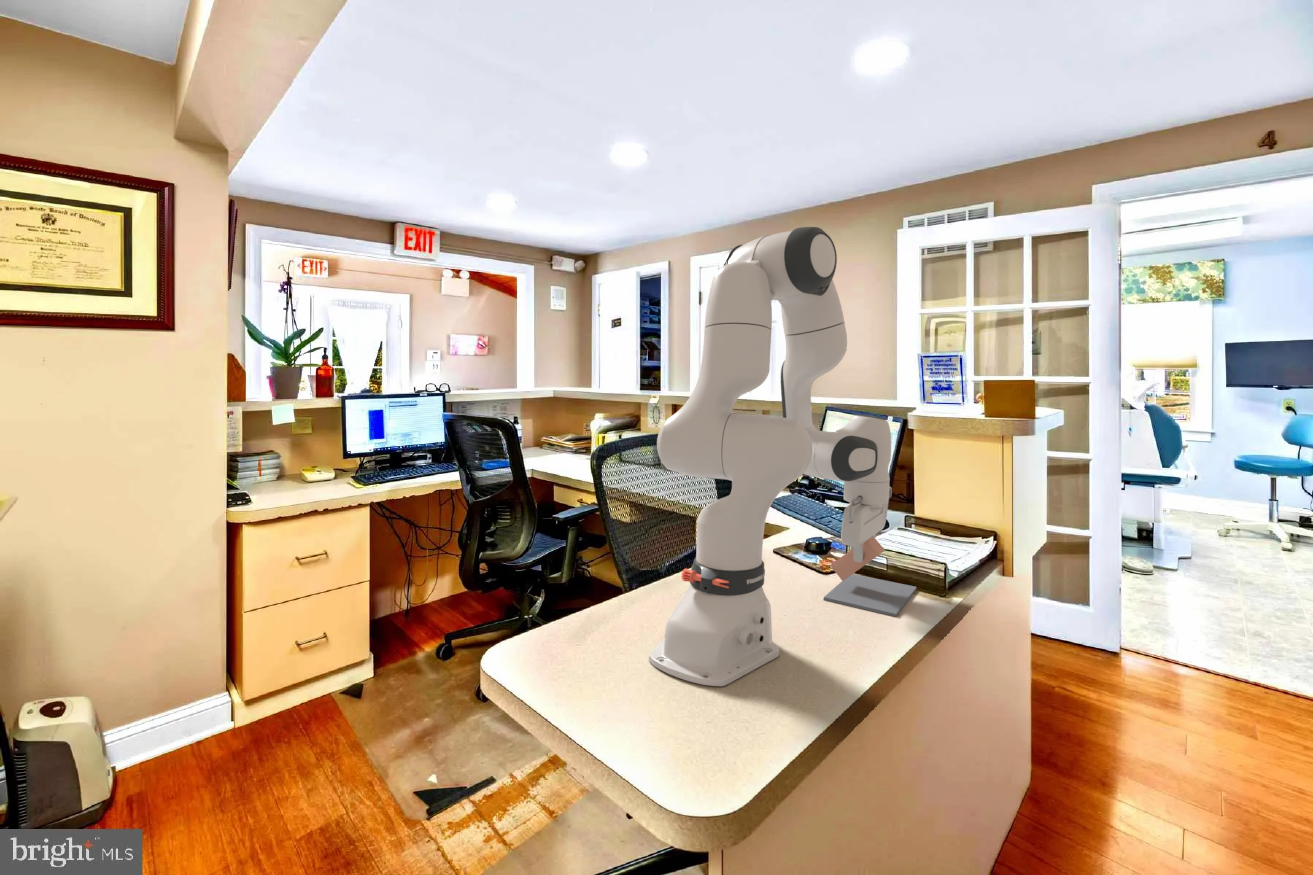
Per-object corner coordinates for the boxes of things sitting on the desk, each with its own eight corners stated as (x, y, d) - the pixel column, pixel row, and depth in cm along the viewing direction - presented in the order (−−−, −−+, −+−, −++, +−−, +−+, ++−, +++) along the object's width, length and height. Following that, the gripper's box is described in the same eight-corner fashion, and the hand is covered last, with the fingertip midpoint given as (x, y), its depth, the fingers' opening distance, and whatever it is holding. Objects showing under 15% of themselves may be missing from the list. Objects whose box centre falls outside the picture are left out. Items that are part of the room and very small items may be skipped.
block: (842, 581, 120) (879, 554, 115) (830, 565, 121) (865, 538, 117) (849, 575, 124) (884, 549, 119) (836, 560, 125) (871, 534, 120)
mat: (896, 616, 108) (896, 613, 108) (823, 599, 116) (823, 596, 116) (916, 589, 122) (916, 586, 122) (850, 576, 130) (850, 573, 130)
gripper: (867, 502, 108) (864, 573, 109) (893, 487, 125) (890, 549, 126) (834, 498, 112) (831, 567, 113) (864, 484, 128) (861, 544, 130)
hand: (862, 557), depth 120 cm, fingers closed on block, 4 cm apart
